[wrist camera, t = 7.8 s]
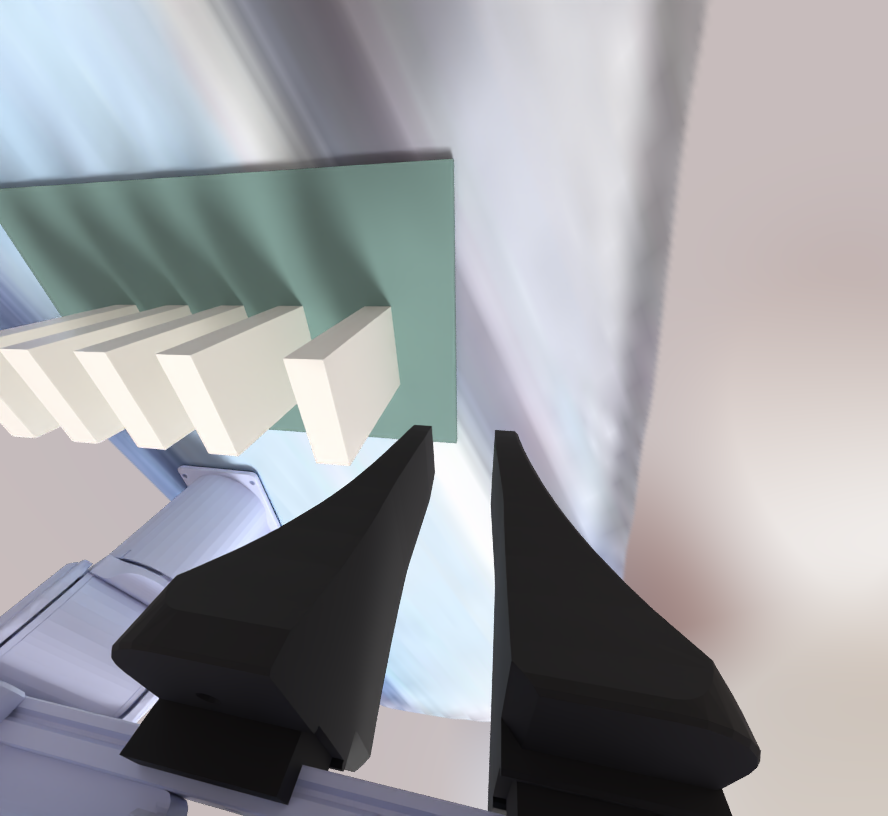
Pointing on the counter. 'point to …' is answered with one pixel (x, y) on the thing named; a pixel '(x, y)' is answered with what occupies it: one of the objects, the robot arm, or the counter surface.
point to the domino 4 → (345, 382)
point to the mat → (267, 258)
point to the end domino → (8, 394)
